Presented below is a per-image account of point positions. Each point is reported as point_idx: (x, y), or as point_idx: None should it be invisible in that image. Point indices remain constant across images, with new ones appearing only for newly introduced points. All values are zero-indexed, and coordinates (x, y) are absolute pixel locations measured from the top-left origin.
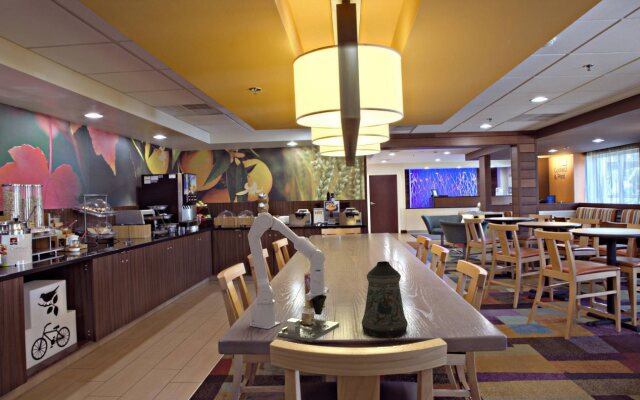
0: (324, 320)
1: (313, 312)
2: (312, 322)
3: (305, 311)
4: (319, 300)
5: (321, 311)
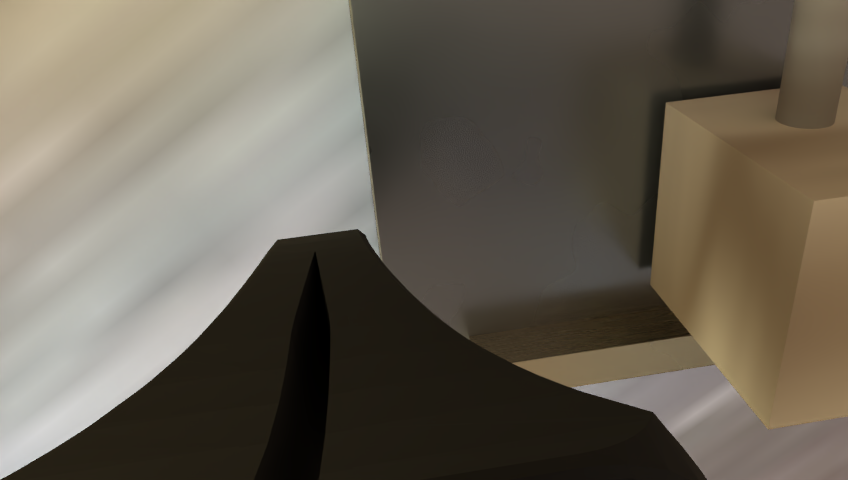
0: (362, 33)
1: (826, 198)
2: (745, 99)
3: (802, 418)
4: (665, 447)
5: (289, 257)
